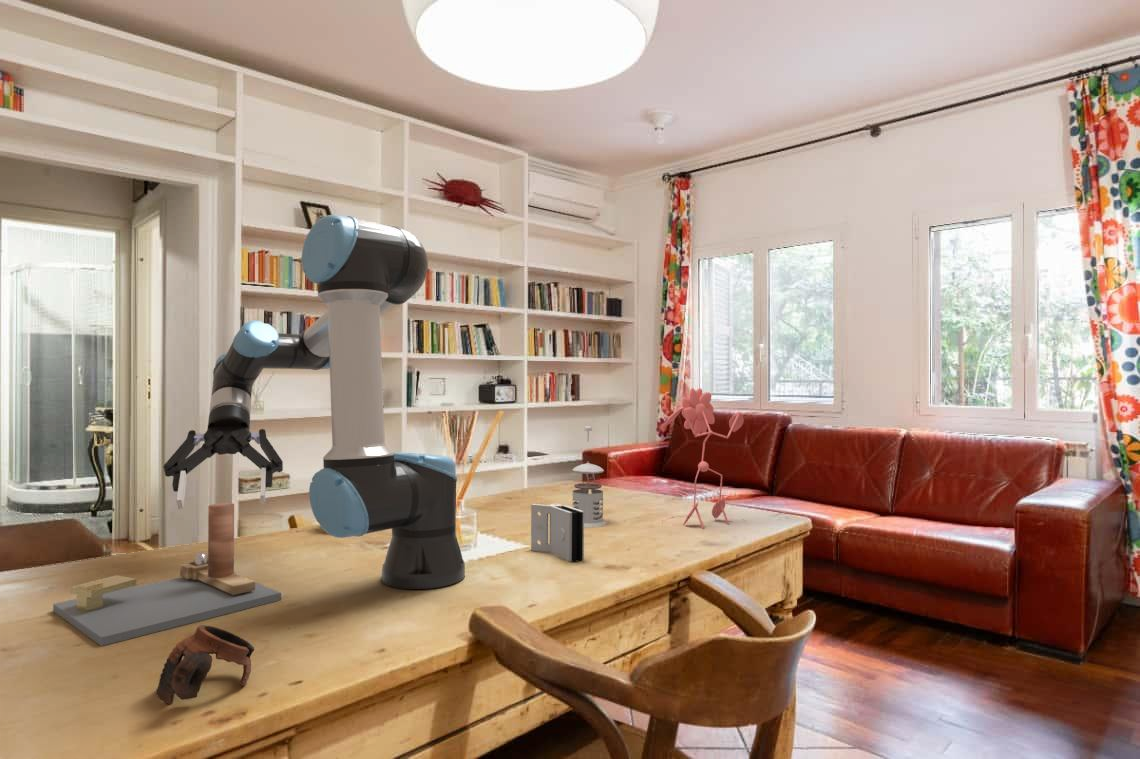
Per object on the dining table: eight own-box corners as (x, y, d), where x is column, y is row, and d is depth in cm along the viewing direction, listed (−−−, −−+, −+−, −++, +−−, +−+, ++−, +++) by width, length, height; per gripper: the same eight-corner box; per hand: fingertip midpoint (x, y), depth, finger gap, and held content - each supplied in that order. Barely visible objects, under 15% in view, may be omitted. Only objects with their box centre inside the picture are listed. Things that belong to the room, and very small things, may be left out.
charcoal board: (281, 599, 116) (281, 592, 116) (101, 646, 96) (101, 637, 96) (221, 575, 130) (221, 569, 130) (53, 611, 109) (53, 603, 109)
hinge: (529, 550, 150) (530, 504, 150) (548, 546, 153) (548, 501, 154) (573, 563, 140) (574, 513, 140) (592, 558, 143) (592, 510, 143)
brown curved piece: (163, 682, 86) (201, 617, 88) (234, 712, 87) (270, 647, 89) (126, 700, 74) (171, 625, 77) (209, 735, 75) (250, 660, 78)
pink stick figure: (752, 520, 182) (750, 387, 182) (682, 533, 167) (680, 388, 167) (709, 512, 194) (707, 387, 195) (639, 523, 179) (638, 388, 180)
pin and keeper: (215, 576, 125) (215, 554, 125) (91, 613, 105) (91, 587, 105) (195, 573, 127) (195, 551, 127) (70, 608, 107) (71, 582, 107)
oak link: (176, 574, 124) (177, 500, 124) (210, 567, 129) (210, 495, 129) (226, 596, 112) (226, 514, 112) (261, 588, 117) (261, 508, 117)
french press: (565, 526, 174) (566, 426, 174) (573, 517, 185) (573, 423, 185) (604, 528, 172) (605, 427, 172) (609, 518, 184) (610, 424, 184)
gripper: (295, 426, 148) (295, 509, 134) (161, 428, 138) (146, 518, 125) (296, 402, 143) (295, 486, 129) (156, 403, 133) (140, 493, 120)
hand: (222, 502), depth 127 cm, fingers open, 13 cm apart
